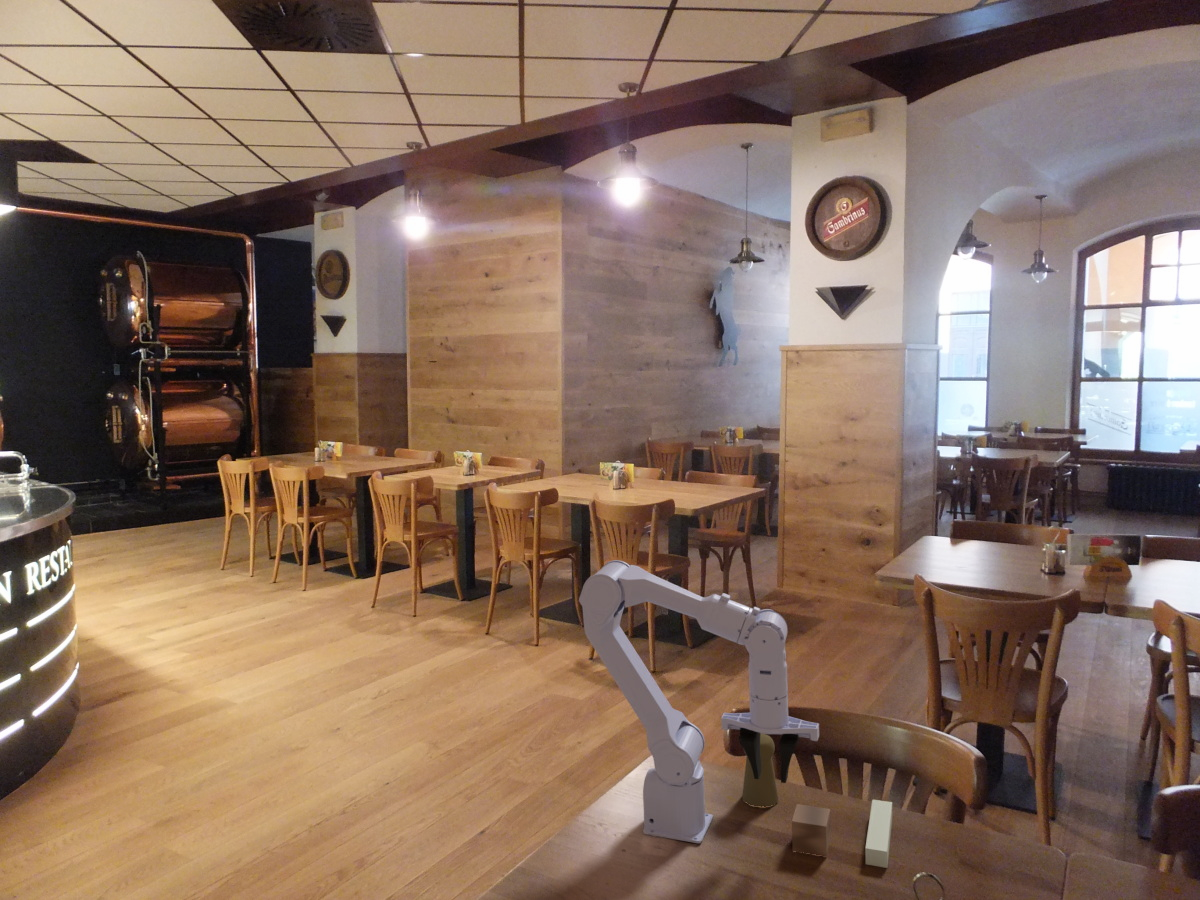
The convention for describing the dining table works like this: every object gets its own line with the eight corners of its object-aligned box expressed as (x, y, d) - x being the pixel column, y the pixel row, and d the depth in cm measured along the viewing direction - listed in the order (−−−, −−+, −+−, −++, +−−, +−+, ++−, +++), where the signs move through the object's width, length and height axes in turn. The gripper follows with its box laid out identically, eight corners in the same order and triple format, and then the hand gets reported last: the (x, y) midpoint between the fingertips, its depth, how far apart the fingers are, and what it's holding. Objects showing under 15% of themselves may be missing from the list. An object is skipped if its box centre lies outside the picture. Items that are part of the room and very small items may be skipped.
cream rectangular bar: (865, 864, 123) (865, 848, 123) (872, 814, 136) (872, 799, 135) (887, 868, 122) (887, 851, 121) (892, 817, 135) (892, 802, 134)
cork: (778, 809, 138) (777, 745, 137) (741, 807, 140) (739, 744, 138) (778, 790, 144) (777, 729, 143) (742, 788, 146) (740, 727, 144)
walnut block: (792, 852, 127) (791, 821, 126) (797, 834, 131) (797, 803, 131) (826, 858, 125) (826, 826, 124) (830, 839, 130) (830, 809, 129)
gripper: (820, 687, 129) (822, 771, 130) (727, 678, 134) (730, 759, 136) (814, 706, 122) (816, 794, 124) (716, 695, 128) (719, 780, 129)
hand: (770, 777), depth 129 cm, fingers open, 3 cm apart
